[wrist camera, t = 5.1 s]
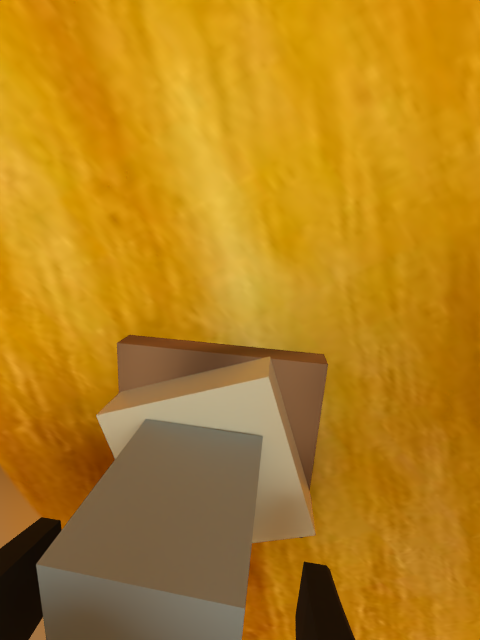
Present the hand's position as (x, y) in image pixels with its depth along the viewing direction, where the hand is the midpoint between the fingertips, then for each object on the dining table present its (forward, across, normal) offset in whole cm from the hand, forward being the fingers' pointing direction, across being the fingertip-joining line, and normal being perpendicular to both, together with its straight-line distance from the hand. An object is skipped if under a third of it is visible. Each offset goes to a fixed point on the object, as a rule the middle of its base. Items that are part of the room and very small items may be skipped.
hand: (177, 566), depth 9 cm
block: (+3, 0, 0) cm, 3 cm away
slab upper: (+6, 0, 0) cm, 6 cm away
